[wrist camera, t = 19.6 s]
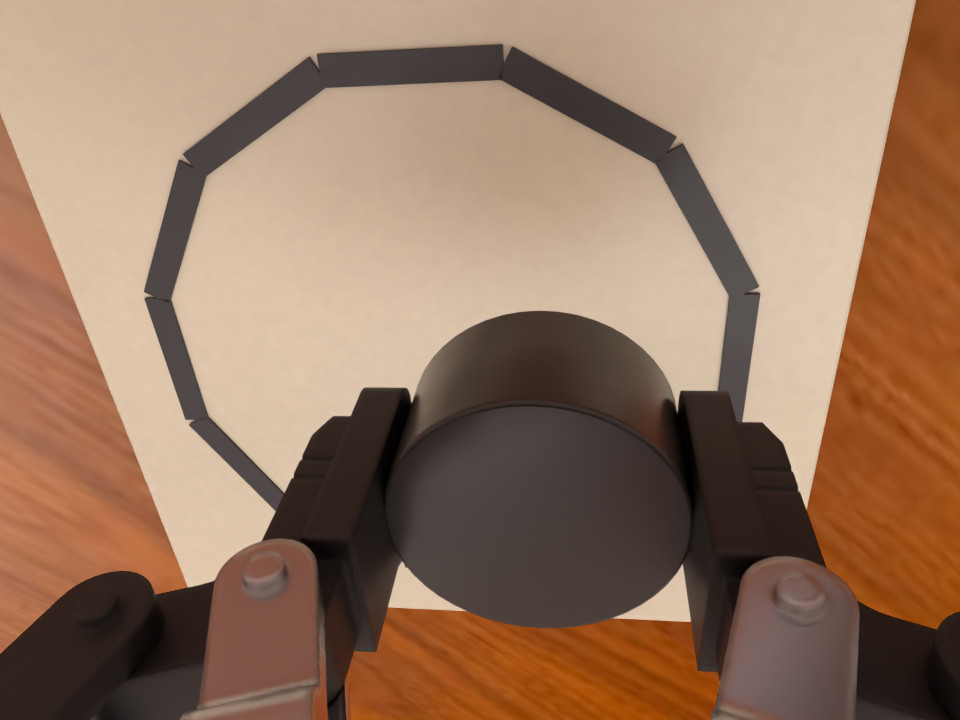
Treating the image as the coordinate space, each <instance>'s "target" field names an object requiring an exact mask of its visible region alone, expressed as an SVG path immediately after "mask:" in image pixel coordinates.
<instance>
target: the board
mask: <svg viewBox="0 0 960 720" xmlns="http://www.w3.org/2000/svg"><path fill="white" fill-rule="evenodd" d="M915 3H916V0H0V114H1V117H2V119H3V122H4V124H5V127H6V129H7V132H8V134H9V137H10V139H11V142H12V144H13V147H14V149H15V152H16V155H17V157H18V160H19V162H20V165H21V167H22V170H23V172H24V175H25V177H26V180H27V182H28V185H29V187H30V190H31V192H32V195H33V197H34V200H35V202H36V205H37V208H38V210H39V213H40V215H41V218H42V220H43V223H44V225H45V228H46V230H47V233H48V235H49V238H50V240H51V243H52V245H53V248H54V250H55V253H56V255H57V258H58V261H59V263H60V266H61V268H62V271H63V273H64V276H65V278H66V281H67V283H68V286H69V288H70V291H71V293H72V296H73V298H74V301H75V303H76V306H77V309H78V311H79V314H80V316H81V319H82V321H83V324H84V326H85V329H86V331H87V334H88V336H89V339H90V341H91V344H92V346H93V349H94V351H95V354H96V356H97V359H98V362H99V364H100V367H101V369H102V372H103V374H104V377H105V379H106V382H107V384H108V387H109V389H110V392H111V394H112V397H113V399H114V402H115V404H116V407H117V409H118V412H119V415H120V417H121V420H122V422H123V425H124V427H125V430H126V432H127V435H128V437H129V440H130V442H131V445H132V447H133V450H134V452H135V455H136V457H137V460H138V462H139V465H140V468H141V470H142V473H143V475H144V478H145V480H146V483H147V485H148V488H149V490H150V493H151V495H152V498H153V500H154V503H155V505H156V508H157V510H158V513H159V515H160V518H161V521H162V523H163V526H164V528H165V531H166V533H167V536H168V538H169V541H170V543H171V546H172V548H173V551H174V553H175V556H176V558H177V561H178V563H179V566H180V568H181V571H182V574H183V576H184V579H185V581H186V584H187V586H188V587H193V586H197V585H201V584H205V583H209V582H212V581H214V580H215V579H216V577H217V575H218V572H219V571H220V569H221V568H222V566H223V565H224V564H225V563H226V562H227V561H228V560H229V559H230V558H231V557H232V556H233V555H235V554H236V553H237V552H239V551H241V550H242V549H244V548H246V547H248V546H250V545H252V544H255V543H257V542H261V541H262V539H263V537H264V535H265V533H266V531H267V529H268V527H269V524H270V522H271V520H272V518H273V516H274V514H275V512H276V510H277V508H278V506H279V503H280V501H281V499H282V497H283V495H284V493H285V491H286V489H287V487H288V485H289V482H290V480H291V478H294V472H295V470H296V468H297V466H298V464H299V461H300V460H302V455H303V453H304V451H305V449H306V447H307V445H308V443H309V441H310V438H311V436H312V434H314V433H315V432H316V431H317V430H318V429H319V428H320V427H321V426H322V425H324V424H325V423H326V422H327V421H328V420H329V419H330V418H331V417H332V416H351V414H352V412H353V409H354V407H355V404H356V402H357V400H358V397H359V395H360V393H361V391H362V389H363V388H364V387H391V388H407V389H408V390H409V393H410V396H411V403H412V401H413V398H414V395H415V392H416V389H417V385H418V383H419V380H420V378H421V376H422V374H423V372H424V370H425V368H426V367H427V365H428V364H429V362H430V361H431V359H432V358H433V357H434V356H435V355H436V353H437V352H438V351H439V350H440V349H441V348H442V347H443V346H444V345H445V344H446V343H448V342H449V341H450V340H451V339H453V338H454V337H455V336H457V335H458V334H460V333H461V332H463V331H465V330H466V329H468V328H470V327H472V326H474V325H476V324H478V323H481V322H483V321H485V320H488V319H491V318H494V317H498V316H501V315H505V314H511V313H516V312H523V311H558V312H564V313H570V314H576V315H580V316H583V317H586V318H590V319H593V320H596V321H598V322H601V323H603V324H605V325H608V326H610V327H612V328H614V329H616V330H617V331H619V332H621V333H623V334H624V335H626V336H627V337H629V338H630V339H631V340H633V341H634V342H635V343H637V344H638V345H639V346H641V347H642V348H643V349H644V350H645V351H646V352H647V353H648V354H649V355H650V356H651V357H652V358H653V359H654V361H655V362H656V363H657V365H658V366H659V367H660V369H661V370H662V371H663V373H664V375H665V377H666V379H667V381H668V382H669V384H670V386H671V389H672V392H673V395H674V398H675V402H676V408H677V412H678V401H679V394H680V391H681V390H684V391H728V393H729V395H730V398H731V402H732V406H733V409H734V413H735V416H736V420H737V422H763V423H764V424H765V425H766V426H767V427H768V428H769V429H770V430H771V431H772V432H773V433H774V434H775V435H776V436H777V437H778V438H779V439H780V440H781V441H782V442H783V444H784V447H785V450H786V453H787V456H788V458H789V461H790V464H791V471H792V472H793V473H794V476H795V479H796V482H797V484H798V492H800V493H801V496H802V499H803V502H804V505H805V507H806V510H807V505H808V501H809V496H810V491H811V487H812V482H813V477H814V473H815V468H816V463H817V459H818V454H819V449H820V445H821V440H822V435H823V431H824V426H825V422H826V417H827V412H828V408H829V403H830V398H831V394H832V389H833V384H834V380H835V375H836V370H837V366H838V361H839V356H840V352H841V347H842V342H843V338H844V333H845V329H846V324H847V319H848V315H849V310H850V305H851V301H852V296H853V291H854V287H855V282H856V277H857V273H858V268H859V263H860V259H861V254H862V249H863V245H864V240H865V235H866V231H867V226H868V222H869V217H870V212H871V208H872V203H873V198H874V194H875V189H876V184H877V180H878V175H879V170H880V166H881V161H882V156H883V152H884V147H885V142H886V138H887V133H888V128H889V124H890V119H891V115H892V110H893V105H894V101H895V96H896V91H897V87H898V82H899V77H900V73H901V68H902V63H903V59H904V54H905V49H906V45H907V40H908V35H909V31H910V26H911V21H912V17H913V12H914V8H915ZM388 607H392V608H413V609H434V610H454V611H465V610H463V609H461V608H459V607H457V606H455V605H453V604H451V603H450V602H448V601H446V600H444V599H443V598H441V597H439V596H438V595H437V594H435V593H434V592H433V591H431V590H430V589H429V588H427V587H426V586H425V585H424V584H423V583H422V582H421V581H419V580H418V579H417V578H416V577H415V576H414V575H413V574H412V573H411V571H410V570H409V569H408V568H407V567H406V565H405V564H404V563H403V561H402V560H401V559H400V563H399V567H398V570H397V574H396V578H395V582H394V586H393V589H392V593H391V597H390V601H389V605H388ZM614 618H620V619H641V620H661V621H682V622H691V618H690V611H689V604H688V597H687V590H686V583H685V576H684V569H683V564H682V566H681V567H680V569H679V571H678V572H677V574H676V575H675V576H674V577H673V579H672V580H671V581H670V582H669V583H668V584H667V586H666V587H664V588H663V589H662V590H661V591H660V592H659V593H658V594H656V595H655V596H654V597H653V598H651V599H650V600H648V601H647V602H645V603H644V604H642V605H641V606H639V607H637V608H635V609H633V610H631V611H629V612H627V613H625V614H622V615H619V616H617V617H614Z"/></svg>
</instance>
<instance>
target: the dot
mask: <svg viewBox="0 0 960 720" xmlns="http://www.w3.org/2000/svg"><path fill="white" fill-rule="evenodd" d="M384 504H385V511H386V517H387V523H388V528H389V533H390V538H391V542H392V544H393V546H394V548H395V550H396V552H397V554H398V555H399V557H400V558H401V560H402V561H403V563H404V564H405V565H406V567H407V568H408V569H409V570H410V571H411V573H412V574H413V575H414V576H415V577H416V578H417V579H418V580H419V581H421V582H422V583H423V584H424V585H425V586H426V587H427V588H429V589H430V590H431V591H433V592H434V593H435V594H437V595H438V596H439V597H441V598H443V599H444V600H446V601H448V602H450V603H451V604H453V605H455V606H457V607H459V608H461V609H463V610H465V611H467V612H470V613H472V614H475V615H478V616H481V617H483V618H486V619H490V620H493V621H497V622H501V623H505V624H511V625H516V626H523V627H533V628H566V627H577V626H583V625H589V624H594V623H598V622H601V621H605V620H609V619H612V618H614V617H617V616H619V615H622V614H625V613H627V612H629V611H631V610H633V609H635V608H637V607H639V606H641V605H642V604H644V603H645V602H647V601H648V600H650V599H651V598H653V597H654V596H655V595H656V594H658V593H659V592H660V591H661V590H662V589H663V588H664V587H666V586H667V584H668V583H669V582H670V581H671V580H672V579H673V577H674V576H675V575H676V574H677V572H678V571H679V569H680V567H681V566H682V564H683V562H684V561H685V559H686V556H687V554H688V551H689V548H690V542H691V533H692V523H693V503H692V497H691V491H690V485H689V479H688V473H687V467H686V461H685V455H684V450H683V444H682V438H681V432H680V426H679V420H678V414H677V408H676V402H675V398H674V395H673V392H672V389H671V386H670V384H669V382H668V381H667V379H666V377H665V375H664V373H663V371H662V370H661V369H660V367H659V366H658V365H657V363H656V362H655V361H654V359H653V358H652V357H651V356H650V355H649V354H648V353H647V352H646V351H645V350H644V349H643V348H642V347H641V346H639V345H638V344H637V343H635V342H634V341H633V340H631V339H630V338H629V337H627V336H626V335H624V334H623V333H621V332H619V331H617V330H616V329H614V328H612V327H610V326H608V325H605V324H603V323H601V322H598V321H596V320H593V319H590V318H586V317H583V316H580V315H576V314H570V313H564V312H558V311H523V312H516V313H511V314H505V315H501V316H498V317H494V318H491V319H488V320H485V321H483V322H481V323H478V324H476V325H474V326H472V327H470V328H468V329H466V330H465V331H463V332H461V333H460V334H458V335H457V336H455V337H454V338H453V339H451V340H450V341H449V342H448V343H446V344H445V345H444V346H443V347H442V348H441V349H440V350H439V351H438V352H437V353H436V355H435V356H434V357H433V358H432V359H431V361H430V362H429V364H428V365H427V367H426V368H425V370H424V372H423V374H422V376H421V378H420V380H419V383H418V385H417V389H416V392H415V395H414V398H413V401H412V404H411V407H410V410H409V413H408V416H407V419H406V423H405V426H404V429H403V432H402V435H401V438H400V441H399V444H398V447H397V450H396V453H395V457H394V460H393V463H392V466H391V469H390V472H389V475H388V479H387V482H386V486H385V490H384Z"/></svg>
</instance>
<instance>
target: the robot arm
mask: <svg viewBox="0 0 960 720" xmlns="http://www.w3.org/2000/svg"><path fill="white" fill-rule="evenodd" d="M411 404H412V403H411V396H410V393H409V390H408V389H407V388H391V387H364V388H363V389H362V391H361V393H360V395H359V397H358V400H357V402H356V404H355V407H354V409H353V412H352V414H351V416H332V417H331V418H330V419H329V420H328V421H327V422H326V423H325V424H324V425H322V426H321V427H320V428H319V429H318V430H317V431H316V432H315V433H314V434H312V436H311V438H310V441H309V443H308V445H307V447H306V449H305V451H304V453H303V455H302V460H300V461H299V464H298V466H297V468H296V470H295V472H294V478H291V480H290V482H289V485H288V487H287V489H286V491H285V493H284V495H283V497H282V499H281V501H280V503H279V506H278V508H277V510H276V512H275V514H274V516H273V518H272V520H271V522H270V524H269V527H268V529H267V531H266V533H265V535H264V537H263V539H262V541H261V542H257V543H255V544H252V545H250V546H248V547H246V548H244V549H242V550H241V551H239V552H237V553H236V554H235V555H233V556H232V557H231V558H230V559H229V560H228V561H227V562H226V563H225V564H224V565H223V566H222V568H221V569H220V571H219V572H218V575H217V577H216V579H215V580H214V581H212V582H209V583H205V584H201V585H197V586H193V587H188V588H184V589H179V590H175V591H170V592H166V593H161V594H157V595H155V592H154V590H153V588H152V585H151V584H150V582H149V581H148V580H147V579H146V578H145V577H144V576H142V575H140V574H138V573H134V572H130V571H116V572H109V573H104V574H101V575H98V576H95V577H92V578H90V579H88V580H85V581H84V582H82V583H80V584H78V585H76V586H75V587H74V588H72V589H71V590H69V591H68V592H67V593H65V594H64V595H63V596H62V597H61V598H60V599H59V600H57V601H56V602H55V603H54V604H53V605H52V606H51V607H50V608H49V609H48V610H47V611H46V612H45V613H44V614H43V615H41V616H40V617H39V618H38V619H37V620H36V621H35V622H34V623H33V624H32V625H31V626H30V627H29V628H28V629H27V630H25V631H24V632H23V633H22V634H21V635H20V636H19V637H18V638H17V639H16V640H15V641H14V642H13V643H12V644H11V645H9V646H8V647H7V648H6V649H5V650H4V651H3V652H2V653H1V654H0V720H351V715H350V697H349V686H348V681H347V677H346V676H347V673H348V670H349V666H350V663H351V659H352V656H353V652H354V651H364V652H376V650H377V646H378V642H379V639H380V635H381V631H382V627H383V623H384V620H385V616H386V612H387V608H388V605H389V601H390V597H391V593H392V589H393V586H394V582H395V578H396V574H397V570H398V567H399V563H400V559H401V558H400V557H399V555H398V554H397V552H396V550H395V548H394V546H393V544H392V542H391V538H390V533H389V528H388V523H387V517H386V511H385V504H384V490H385V486H386V482H387V479H388V475H389V472H390V469H391V466H392V463H393V460H394V457H395V453H396V450H397V447H398V444H399V441H400V438H401V435H402V432H403V429H404V426H405V423H406V419H407V416H408V413H409V410H410V407H411ZM677 414H678V420H679V426H680V432H681V438H682V444H683V450H684V455H685V461H686V467H687V473H688V479H689V485H690V491H691V497H692V503H693V523H692V533H691V542H690V548H689V551H688V554H687V556H686V559H685V561H684V562H683V569H684V576H685V583H686V590H687V597H688V604H689V611H690V618H691V626H692V633H693V640H694V647H695V654H696V661H697V668H698V671H708V672H718V674H719V680H720V685H719V690H718V695H717V700H716V704H715V708H714V709H713V713H712V717H711V720H960V612H957V613H954V614H952V615H950V616H948V617H947V618H946V619H945V620H944V621H942V622H941V624H940V626H939V627H938V629H937V630H936V629H933V628H929V627H926V626H922V625H919V624H915V623H912V622H909V621H905V620H902V619H898V618H895V617H892V616H889V615H886V614H883V613H880V612H878V611H876V610H873V609H871V608H869V607H867V606H865V605H864V604H862V603H860V602H859V601H857V599H856V597H855V595H854V593H853V591H852V590H851V589H850V587H849V586H848V585H847V584H846V583H845V582H844V581H843V580H842V579H841V578H840V577H839V576H838V575H836V574H835V573H834V572H832V571H831V570H829V569H827V567H826V565H825V562H824V559H823V556H822V554H821V551H820V548H819V545H818V542H817V539H816V536H815V533H814V531H813V528H812V525H811V522H810V519H809V516H808V513H807V510H806V507H805V505H804V502H803V499H802V496H801V493H800V492H798V484H797V482H796V479H795V476H794V473H793V472H792V471H791V464H790V461H789V458H788V456H787V453H786V450H785V447H784V444H783V442H782V441H781V440H780V439H779V438H778V437H777V436H776V435H775V434H774V433H773V432H772V431H771V430H770V429H769V428H768V427H767V426H766V425H765V424H764V423H763V422H737V420H736V416H735V413H734V409H733V406H732V402H731V398H730V395H729V393H728V391H684V390H681V391H680V394H679V401H678V412H677Z"/></svg>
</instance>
